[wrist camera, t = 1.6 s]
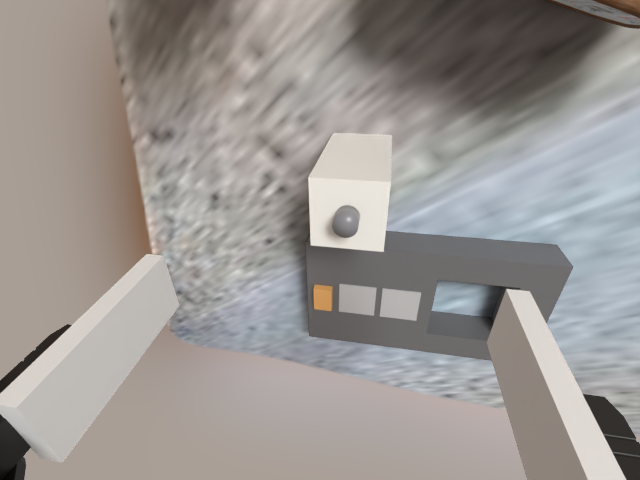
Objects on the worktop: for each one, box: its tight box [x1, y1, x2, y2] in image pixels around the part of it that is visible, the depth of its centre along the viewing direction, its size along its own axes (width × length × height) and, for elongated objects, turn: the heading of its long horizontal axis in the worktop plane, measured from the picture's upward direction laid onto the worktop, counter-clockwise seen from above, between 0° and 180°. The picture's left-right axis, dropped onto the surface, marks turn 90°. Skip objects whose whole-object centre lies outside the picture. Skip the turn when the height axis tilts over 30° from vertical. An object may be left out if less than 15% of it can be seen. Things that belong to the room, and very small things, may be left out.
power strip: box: [305, 231, 573, 360], centre depth 30 cm, size 20×11×4 cm, turn 91°
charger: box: [308, 133, 392, 252], centre depth 23 cm, size 4×4×10 cm
